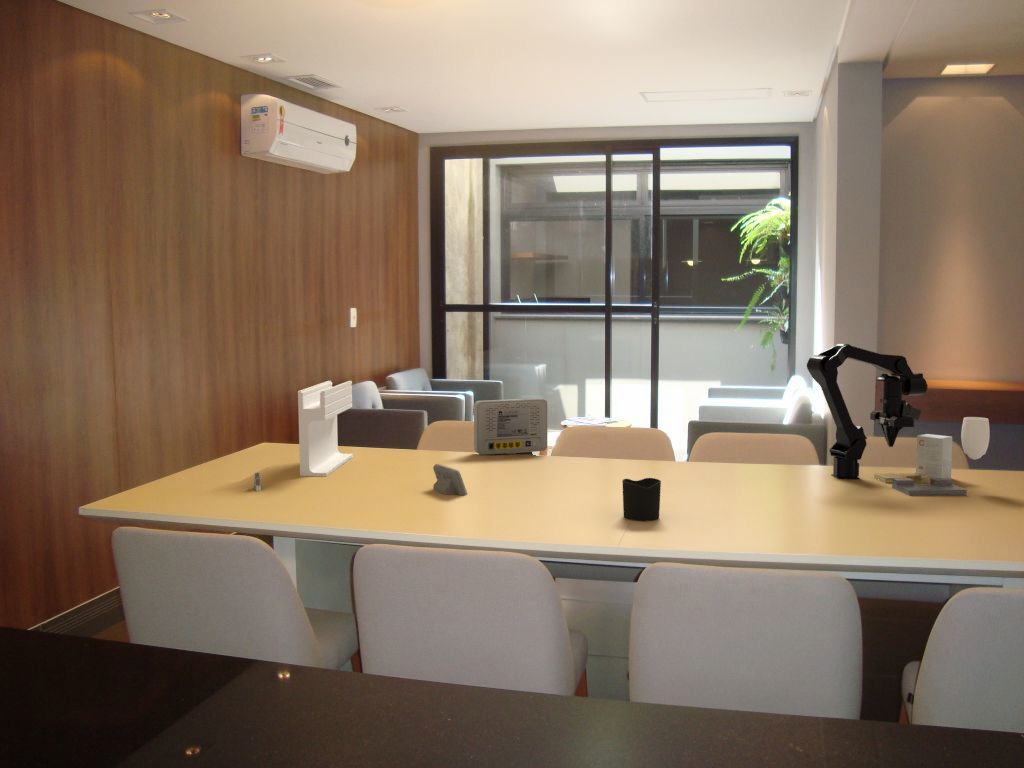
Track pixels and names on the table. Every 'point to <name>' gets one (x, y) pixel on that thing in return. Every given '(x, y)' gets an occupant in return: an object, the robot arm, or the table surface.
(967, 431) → the grey rounded piece
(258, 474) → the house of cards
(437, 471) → the digital clock
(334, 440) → the white device stand
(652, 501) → the pen holder
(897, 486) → the fixed leaf
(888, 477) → the tan rectangular slab
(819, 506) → the table surface
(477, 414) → the network device
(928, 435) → the small box
